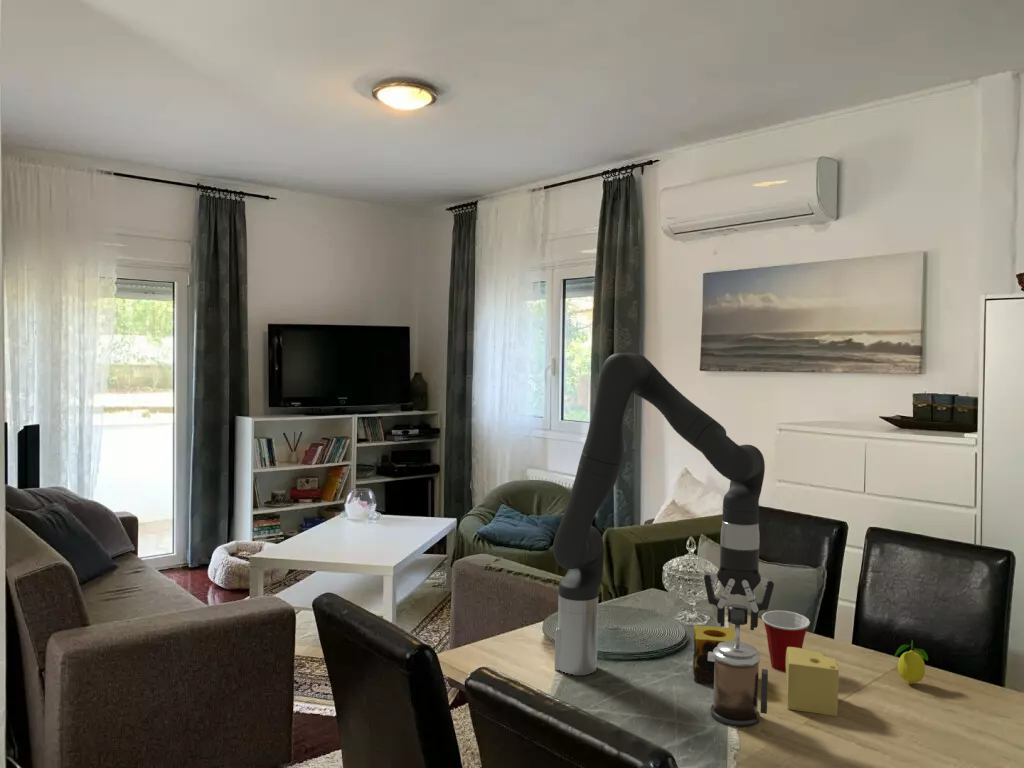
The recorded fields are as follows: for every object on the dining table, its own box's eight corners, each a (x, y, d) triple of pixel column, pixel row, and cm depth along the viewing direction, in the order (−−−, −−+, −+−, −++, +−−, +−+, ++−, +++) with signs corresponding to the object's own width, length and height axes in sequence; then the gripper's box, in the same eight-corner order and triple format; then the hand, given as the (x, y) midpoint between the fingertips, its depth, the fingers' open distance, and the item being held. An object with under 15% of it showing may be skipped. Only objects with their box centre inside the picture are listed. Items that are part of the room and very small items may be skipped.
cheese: (835, 697, 170) (837, 652, 170) (839, 719, 160) (840, 670, 159) (784, 690, 173) (786, 645, 173) (784, 710, 163) (786, 662, 163)
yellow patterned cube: (740, 687, 174) (741, 643, 174) (693, 683, 176) (694, 639, 176) (736, 670, 184) (738, 628, 184) (692, 666, 186) (693, 624, 186)
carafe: (704, 722, 157) (706, 657, 156) (708, 702, 166) (709, 641, 166) (766, 731, 153) (768, 665, 153) (766, 711, 162) (768, 648, 162)
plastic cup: (757, 671, 183) (759, 620, 183) (762, 656, 193) (763, 607, 193) (807, 680, 179) (809, 628, 179) (809, 663, 189) (811, 614, 188)
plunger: (716, 654, 157) (717, 610, 157) (718, 642, 164) (719, 599, 164) (756, 659, 154) (757, 614, 154) (756, 646, 162) (757, 603, 161)
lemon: (893, 685, 177) (894, 641, 176) (894, 676, 182) (895, 634, 182) (927, 692, 174) (928, 647, 173) (927, 682, 179) (928, 639, 178)
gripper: (701, 544, 157) (699, 628, 158) (777, 551, 153) (774, 638, 153) (704, 537, 164) (702, 617, 165) (777, 543, 160) (774, 626, 160)
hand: (737, 626), depth 159 cm, fingers open, 5 cm apart
